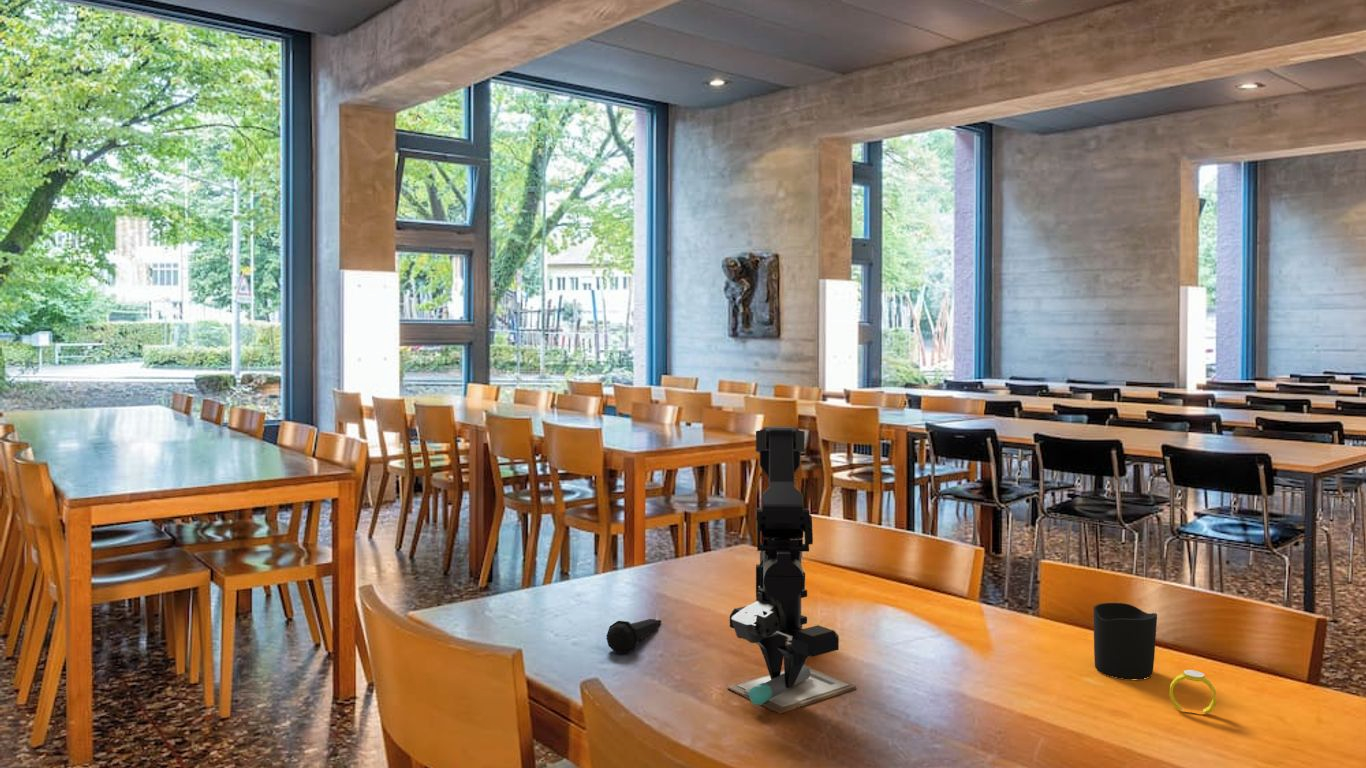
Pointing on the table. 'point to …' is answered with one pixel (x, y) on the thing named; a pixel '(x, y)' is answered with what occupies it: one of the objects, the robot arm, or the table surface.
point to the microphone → (629, 634)
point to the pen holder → (1124, 640)
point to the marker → (775, 687)
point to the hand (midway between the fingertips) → (782, 684)
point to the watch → (1194, 677)
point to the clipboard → (797, 690)
